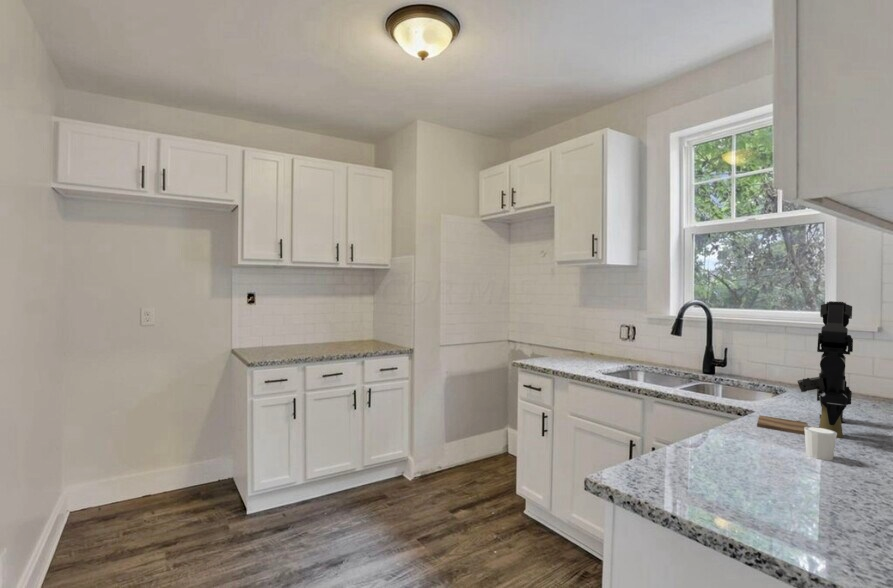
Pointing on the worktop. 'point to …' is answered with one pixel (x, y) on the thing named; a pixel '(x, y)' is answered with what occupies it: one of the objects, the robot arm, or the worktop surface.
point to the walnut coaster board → (781, 424)
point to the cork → (825, 424)
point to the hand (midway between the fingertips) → (830, 421)
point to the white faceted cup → (820, 442)
